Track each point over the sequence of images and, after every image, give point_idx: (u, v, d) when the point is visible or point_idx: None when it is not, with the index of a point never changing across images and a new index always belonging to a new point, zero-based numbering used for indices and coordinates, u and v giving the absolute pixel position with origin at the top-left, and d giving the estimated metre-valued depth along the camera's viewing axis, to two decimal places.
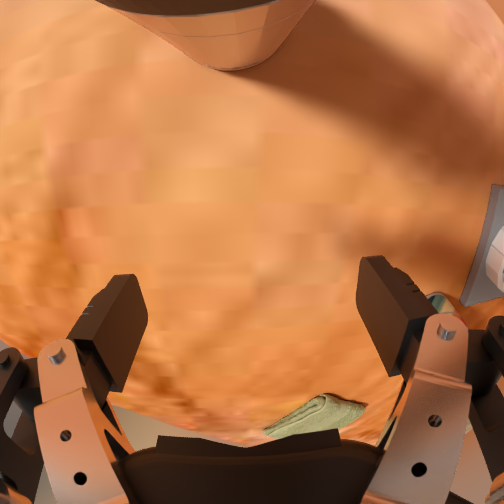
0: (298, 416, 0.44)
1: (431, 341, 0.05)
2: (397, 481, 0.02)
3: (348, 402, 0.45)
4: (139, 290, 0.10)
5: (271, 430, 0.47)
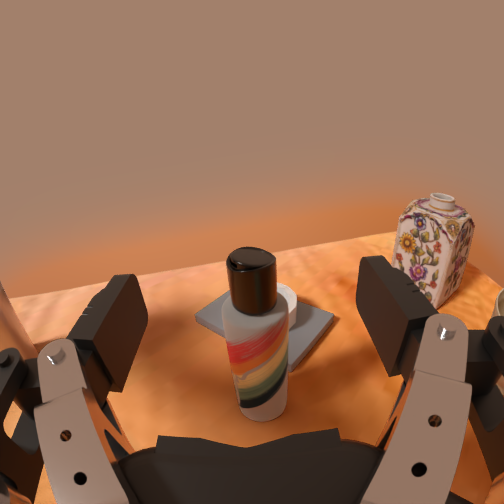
0: None
1: (431, 341, 0.05)
2: (397, 481, 0.02)
3: None
4: (139, 290, 0.10)
5: None
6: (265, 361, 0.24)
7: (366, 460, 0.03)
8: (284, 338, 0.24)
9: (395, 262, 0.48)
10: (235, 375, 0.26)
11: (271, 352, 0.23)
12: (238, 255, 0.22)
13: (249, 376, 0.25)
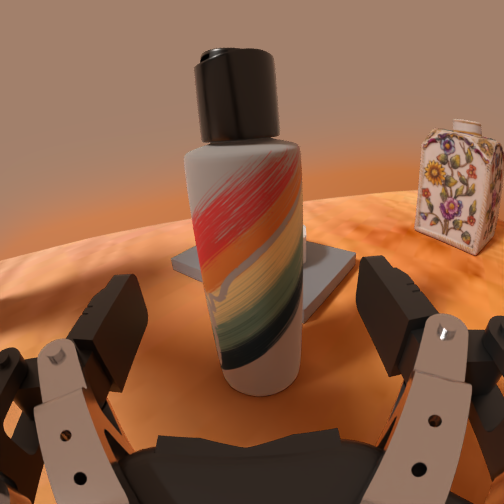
0: None
1: (431, 341, 0.05)
2: (397, 481, 0.02)
3: None
4: (139, 290, 0.10)
5: None
6: (262, 246, 0.13)
7: (366, 460, 0.03)
8: (296, 202, 0.13)
9: (421, 201, 0.37)
10: (209, 296, 0.15)
11: (273, 224, 0.13)
12: None
13: (233, 286, 0.14)
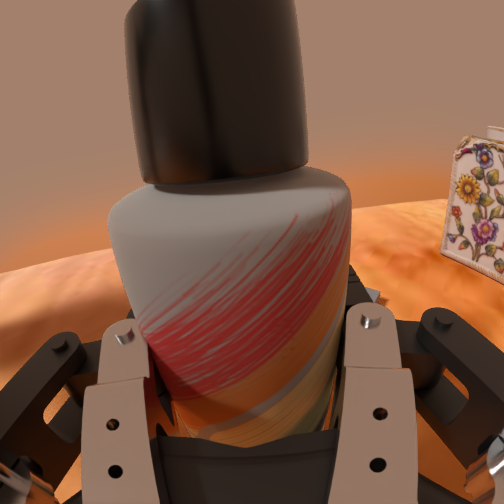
0: None
1: (356, 333, 0.06)
2: (358, 481, 0.03)
3: None
4: None
5: None
6: (268, 399, 0.06)
7: (319, 465, 0.03)
8: (339, 309, 0.06)
9: (450, 221, 0.30)
10: None
11: (293, 365, 0.06)
12: None
13: (218, 437, 0.07)
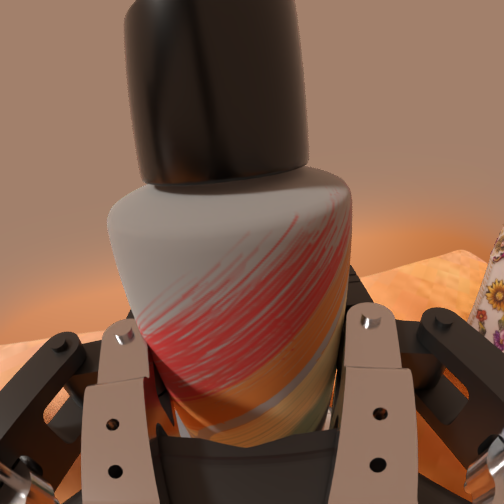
0: None
1: (356, 333, 0.06)
2: (358, 481, 0.03)
3: None
4: None
5: None
6: (268, 400, 0.06)
7: (319, 465, 0.03)
8: (340, 310, 0.06)
9: (472, 322, 0.25)
10: None
11: (293, 366, 0.06)
12: None
13: (218, 437, 0.07)
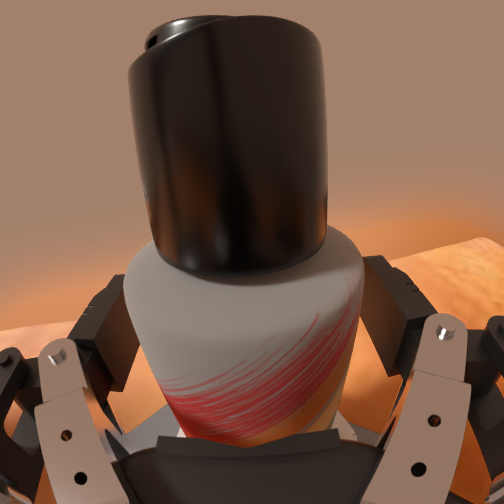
0: None
1: (430, 341, 0.05)
2: (396, 481, 0.02)
3: None
4: None
5: None
6: None
7: (365, 460, 0.03)
8: (346, 368, 0.06)
9: None
10: None
11: (303, 420, 0.06)
12: None
13: None
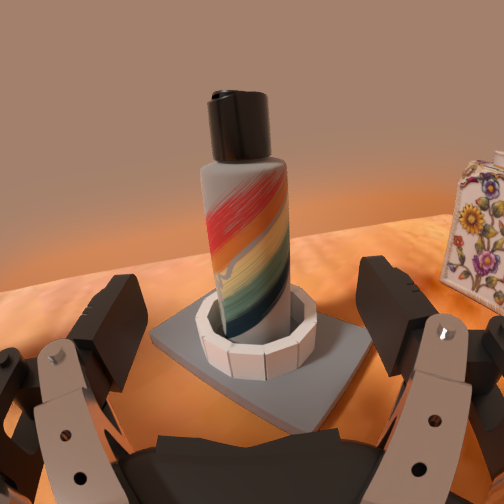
0: None
1: (431, 341, 0.05)
2: (397, 481, 0.02)
3: None
4: (139, 290, 0.10)
5: None
6: (257, 236, 0.18)
7: (366, 460, 0.03)
8: (283, 205, 0.18)
9: (451, 250, 0.29)
10: (218, 276, 0.20)
11: (266, 220, 0.17)
12: None
13: (236, 267, 0.19)
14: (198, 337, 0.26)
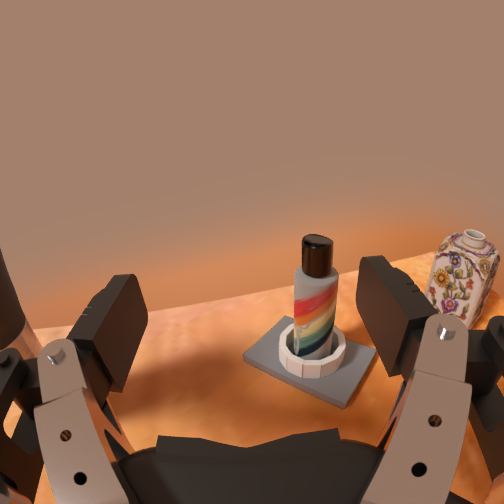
0: None
1: (431, 341, 0.05)
2: (397, 481, 0.02)
3: None
4: (139, 290, 0.10)
5: None
6: (324, 311, 0.35)
7: (366, 460, 0.03)
8: (336, 295, 0.36)
9: (427, 295, 0.47)
10: (299, 327, 0.38)
11: (328, 304, 0.35)
12: (310, 238, 0.34)
13: (312, 324, 0.36)
14: (276, 356, 0.43)
